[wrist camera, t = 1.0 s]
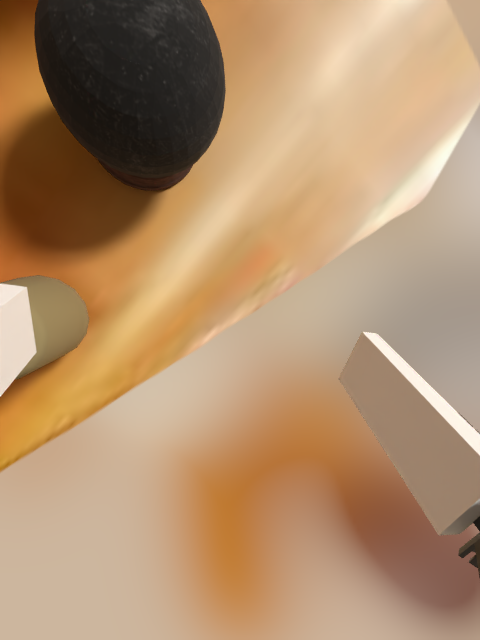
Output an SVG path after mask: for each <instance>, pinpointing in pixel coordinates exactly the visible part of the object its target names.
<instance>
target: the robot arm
mask: <svg viewBox="0 0 480 640" xmlns="http://www.w3.org/2000/svg"><path fill="white" fill-rule="evenodd" d="M36 352H37V351H36V345H35V338H34V331H33V325H32V318H31V311H30V304H29V298H28V291H27V287H23V286H16V285H8V284H0V396H1V395H2V394H3V393H4V392H5V390H6V389H7V388H8V387H9V385H10V384H11V383H12V382H13V381H14V379H15V378H16V377H17V376H18V374H19V373H20V372H21V371H22V370H23V368H24V367H25V366H26V365H27V363H28V362H29V361H30V360H31V358H32V357H33V356H34V355H35V354H36ZM339 380H340V382H341V384H342V385H343V387H344V388H345V390H346V391H347V393H348V394H349V396H350V398H351V399H352V400H353V402H354V404H355V405H356V407H357V408H358V410H359V412H360V413H361V415H362V416H363V418H364V419H365V421H366V422H367V424H368V426H369V427H370V429H371V430H372V432H373V433H374V435H375V436H376V438H377V440H378V441H379V443H380V444H381V446H382V447H383V449H384V450H385V452H386V454H387V455H388V457H389V458H390V460H391V461H392V463H393V465H394V466H395V468H396V469H397V471H398V472H399V474H400V476H401V477H402V479H403V480H404V481H405V483H406V485H407V486H408V488H409V490H410V491H411V492H412V494H413V496H414V497H415V499H416V500H417V502H418V504H419V505H420V507H421V508H422V509H423V511H424V513H425V514H426V516H427V518H428V519H429V521H430V522H431V524H432V525H433V527H434V528H435V530H436V531H437V533H438V535H450V534H460V533H461V532H463V531H464V530H465V529H466V528H467V527H468V526H470V525H471V524H472V523H474V524H475V526H476V527H477V528H478V530H479V531H480V433H479V432H478V431H477V430H475V429H474V428H473V426H472V425H471V424H470V423H469V422H468V421H467V420H466V419H465V418H464V417H463V416H462V415H460V414H459V413H458V412H456V411H455V410H454V409H453V408H452V407H451V406H450V405H449V404H448V403H447V402H446V401H445V400H444V399H443V398H442V397H441V396H440V395H439V394H438V393H437V392H436V391H435V390H434V389H433V388H432V387H431V386H430V385H429V384H428V383H427V382H426V381H425V380H424V379H423V378H422V377H421V376H420V375H419V374H417V373H416V372H415V371H414V370H413V369H412V368H411V367H410V366H409V365H408V364H407V363H406V362H405V361H404V360H403V359H402V358H401V357H400V356H399V355H398V354H397V353H396V352H395V351H394V350H393V349H392V348H391V347H390V346H389V345H388V344H387V343H386V342H385V341H384V340H383V339H382V338H381V337H380V336H379V335H378V334H375V333H368V332H362V333H361V335H360V337H359V339H358V341H357V343H356V345H355V347H354V349H353V351H352V353H351V355H350V357H349V359H348V361H347V363H346V365H345V367H344V369H343V371H342V373H341V375H340V376H339ZM471 551H473V552H476V555H475V556H474V557H472V558H471V559H470V560H469V563H471V564H472V565H474V566H475V567H477V568H478V570H479V577H480V533H479V534H477V535H476V536H475V537H474V538H472V539H471V540H470V541H469V542H467V543H466V544H465V545H464V546H463V547H461V548H460V549H459V556H460V557H461V558H464V557H465V556H466V555H467V554H469V553H470V552H471Z"/></svg>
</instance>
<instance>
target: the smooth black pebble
mask: <svg viewBox="0 0 480 640" xmlns="http://www.w3.org/2000/svg"><path fill="white" fill-rule="evenodd" d="M35 46H36V53H37V59H38V65H39V70H40V73H41V76H42V79H43V82H44V84H45V87H46V90H47V93H48V95H49V97H50V100H51V102H52V104H53V106H54V107H55V109H56V111H57V113H58V115H59V116H60V118H61V120H62V122H63V123H64V124H65V125H66V127H67V128H68V129H69V130H70V132H71V133H72V134H73V135H74V137H75V138H76V139H77V140H78V141H79V142H80V144H81V145H82V146H84V147H85V148H86V149H87V150H88V151H89V152H90V153H91V154H92V155H93V156H95V157H96V158H97V159H98V160H99V162H100V163H101V164H102V165H103V167H104V168H105V169H106V170H107V171H108V172H109V173H110V174H111V175H112V176H114V177H115V178H116V179H118V180H119V181H121V182H123V183H124V184H126V185H129V186H131V187H134V188H137V189H141V190H151V191H157V190H162V189H167V188H169V187H171V186H174V185H176V184H177V183H178V182H180V181H181V180H182V179H183V178H184V177H185V176H186V175H187V174H188V173H189V171H190V170H191V168H192V166H193V164H194V163H196V162H197V161H198V160H199V158H200V157H201V156H202V155H203V154H204V153H205V152H206V150H207V149H208V147H209V146H210V144H211V142H212V141H213V139H214V137H215V135H216V133H217V131H218V128H219V124H220V121H221V118H222V113H223V109H224V100H225V91H226V90H225V75H224V63H223V58H222V53H221V49H220V44H219V41H218V38H217V36H216V33H215V31H214V28H213V26H212V23H211V21H210V18H209V16H208V13H207V12H206V10H205V8H204V6H203V5H202V3H201V1H200V0H38V4H37V8H36V12H35Z"/></svg>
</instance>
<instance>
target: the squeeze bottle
mask: <svg viewBox="0 0 480 640" xmlns="http://www.w3.org/2000/svg"><path fill="white" fill-rule="evenodd" d="M0 284H8V285H16V286H23V287H27V291H28V298H29V304H30V311H31V318H32V325H33V331H34V338H35V345H36V351H37V352H36V354H35V355H34V356H33V357H32V358H31V360H30V361H29V362H28V363H27V365H26V366H25V367H24V368H23V370H22V371H21V372H20V373H19V374H18V376H17V377H16V378H15V379H20V378H21V377H23V376H25V375H27V374H29V373H31V372H33V371H35V370H37V369H39V368H41V367H43V366H45V365H46V364H48V363H50V362H52V361H54V360H56V359H58V358H60V357H62V356H64V355H65V354H67V353H68V352H70V351H72V350H73V349H75V348H77V346H78V345H79V344H80V342H81V341H82V339H83V338H84V337H85V335H86V333H87V328H88V323H89V316H88V312H87V308H86V304H85V302H84V301H83V300H82V298H81V297H80V296H79V294H78V293H77V292H76V291H75V289H73V288H72V287H70V286H68V285H67V284H65V283H63V282H62V281H60V280H59V279H54V278H50V277H45V276H40V275H37V276H29V277H22V278H17V279H13V280H9V281H5V282H1V283H0ZM15 379H14V380H15Z"/></svg>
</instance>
